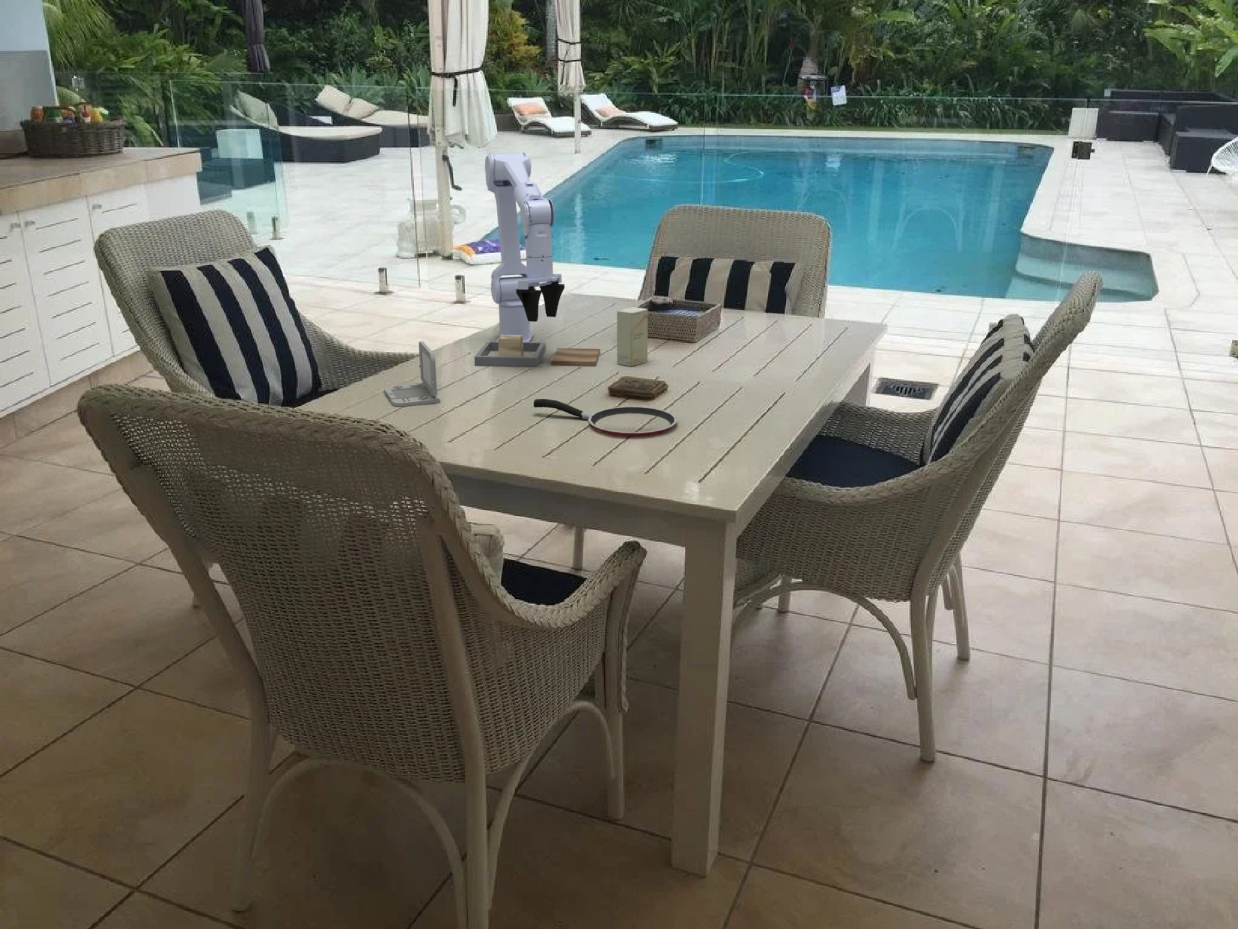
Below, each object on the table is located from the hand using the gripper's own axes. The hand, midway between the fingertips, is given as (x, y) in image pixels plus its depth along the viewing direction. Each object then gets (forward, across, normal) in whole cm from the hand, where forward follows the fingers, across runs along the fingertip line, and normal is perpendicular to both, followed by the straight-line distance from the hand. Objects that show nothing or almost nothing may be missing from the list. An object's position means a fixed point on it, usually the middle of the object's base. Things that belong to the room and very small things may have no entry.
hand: (542, 319), depth 234 cm
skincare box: (+11, +11, -16) cm, 23 cm away
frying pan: (+14, -30, -32) cm, 46 cm away
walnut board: (+10, +8, -4) cm, 13 cm away
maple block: (+10, +2, +10) cm, 14 cm away
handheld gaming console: (+12, -34, +10) cm, 37 cm away
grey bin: (+10, +2, +10) cm, 14 cm away
